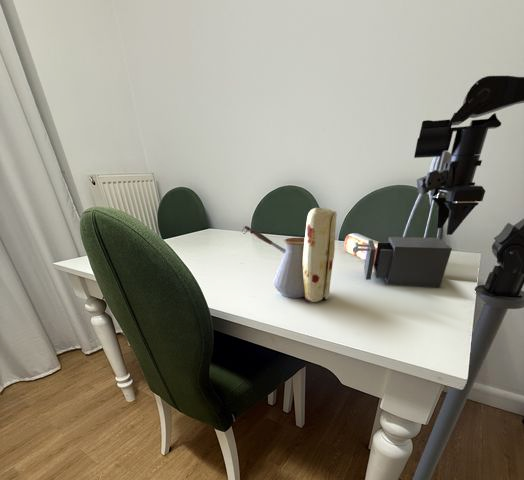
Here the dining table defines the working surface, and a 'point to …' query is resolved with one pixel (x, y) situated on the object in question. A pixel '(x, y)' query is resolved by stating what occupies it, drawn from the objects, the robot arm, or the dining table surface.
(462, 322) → the dining table surface
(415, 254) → the dark grey box
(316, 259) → the food model
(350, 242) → the snack package
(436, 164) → the citrus juicer
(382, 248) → the grey drawer
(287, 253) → the coffee pot
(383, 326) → the dining table surface
